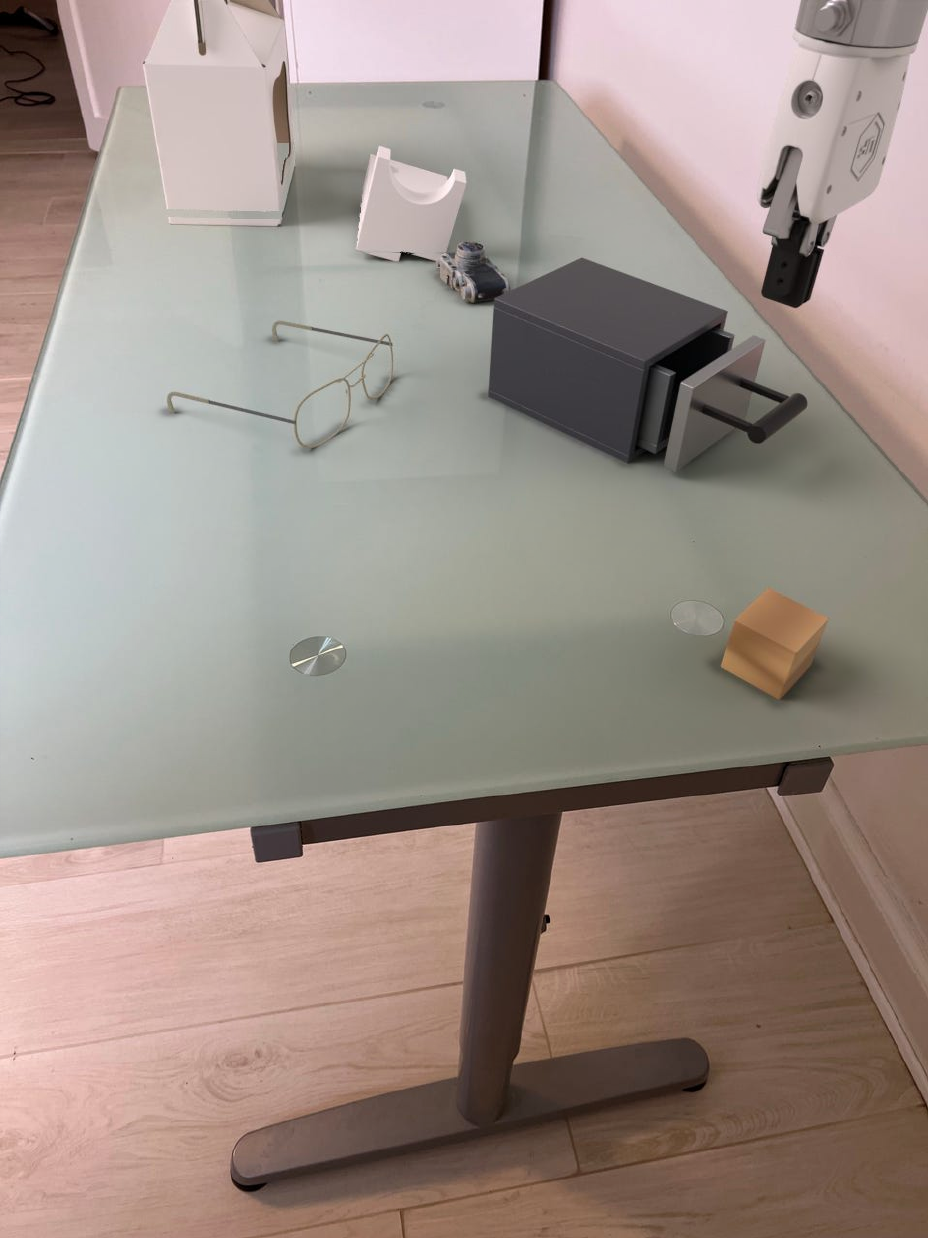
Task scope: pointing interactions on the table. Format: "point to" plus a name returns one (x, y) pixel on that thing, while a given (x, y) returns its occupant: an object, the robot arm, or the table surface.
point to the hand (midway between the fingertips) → (784, 298)
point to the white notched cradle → (407, 208)
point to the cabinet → (589, 349)
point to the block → (773, 642)
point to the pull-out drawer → (707, 398)
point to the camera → (472, 273)
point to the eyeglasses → (275, 338)
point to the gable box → (221, 108)
